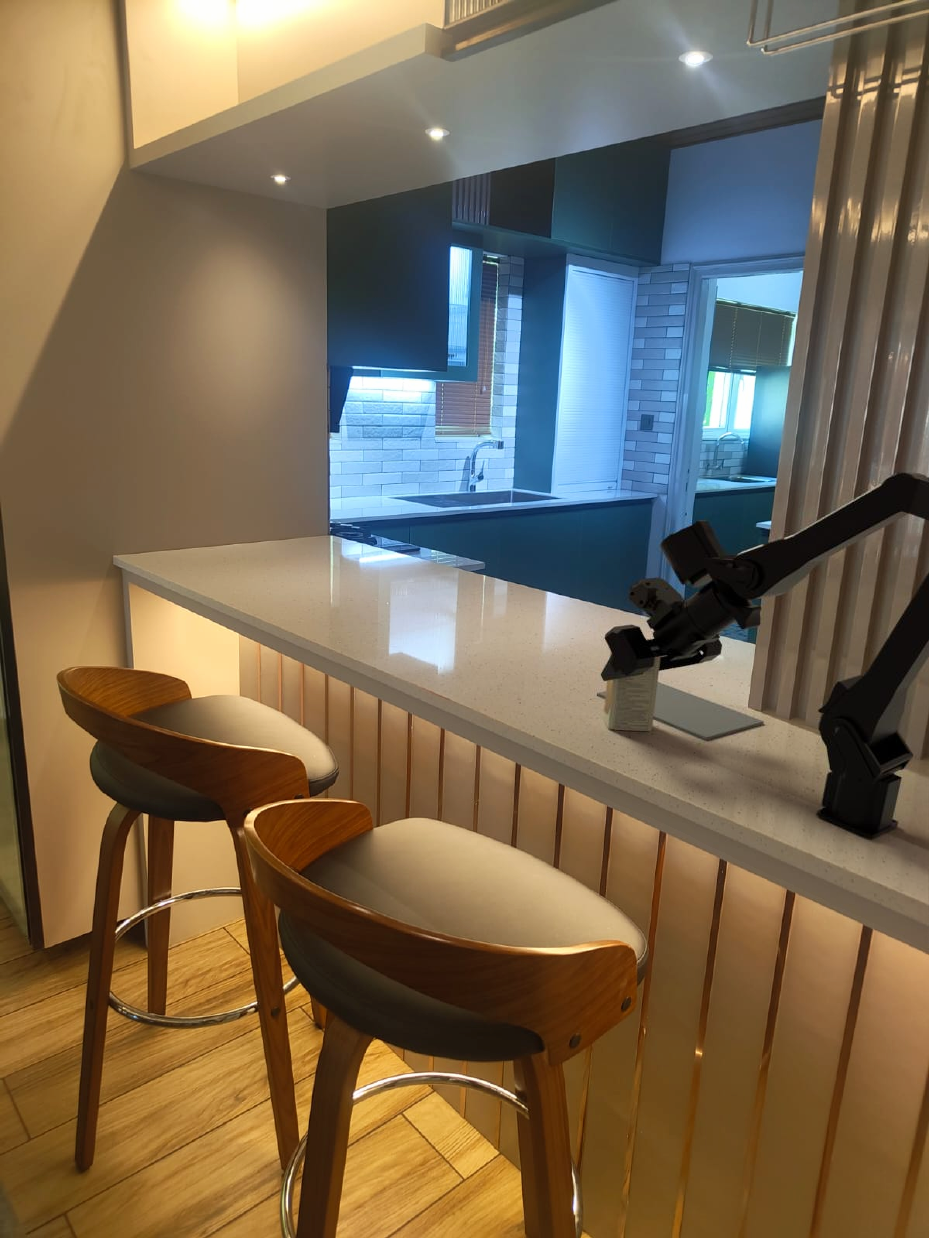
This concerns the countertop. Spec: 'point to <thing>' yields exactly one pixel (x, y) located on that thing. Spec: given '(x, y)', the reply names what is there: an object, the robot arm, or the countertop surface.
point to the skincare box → (632, 701)
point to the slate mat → (696, 714)
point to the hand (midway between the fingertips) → (625, 673)
